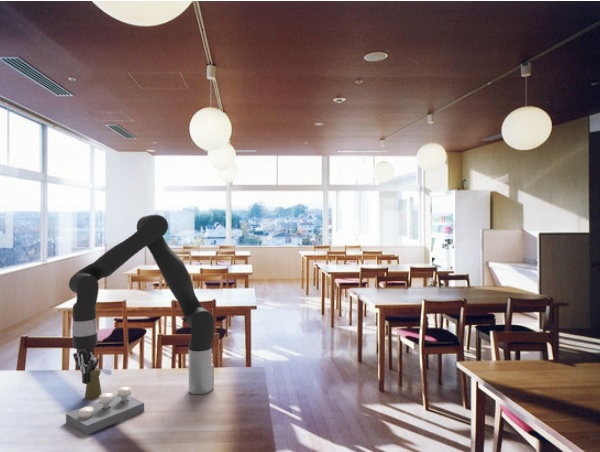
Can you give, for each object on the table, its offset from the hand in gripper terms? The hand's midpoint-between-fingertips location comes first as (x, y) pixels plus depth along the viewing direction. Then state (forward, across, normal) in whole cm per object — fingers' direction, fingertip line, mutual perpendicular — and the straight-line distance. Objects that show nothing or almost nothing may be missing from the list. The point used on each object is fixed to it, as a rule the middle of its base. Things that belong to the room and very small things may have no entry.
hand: (86, 382), depth 146 cm
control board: (+14, 0, -7) cm, 16 cm away
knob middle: (+12, 0, -7) cm, 14 cm away
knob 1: (+14, 0, 0) cm, 14 cm away
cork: (+14, +20, -13) cm, 28 cm away
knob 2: (+12, 0, -14) cm, 18 cm away
